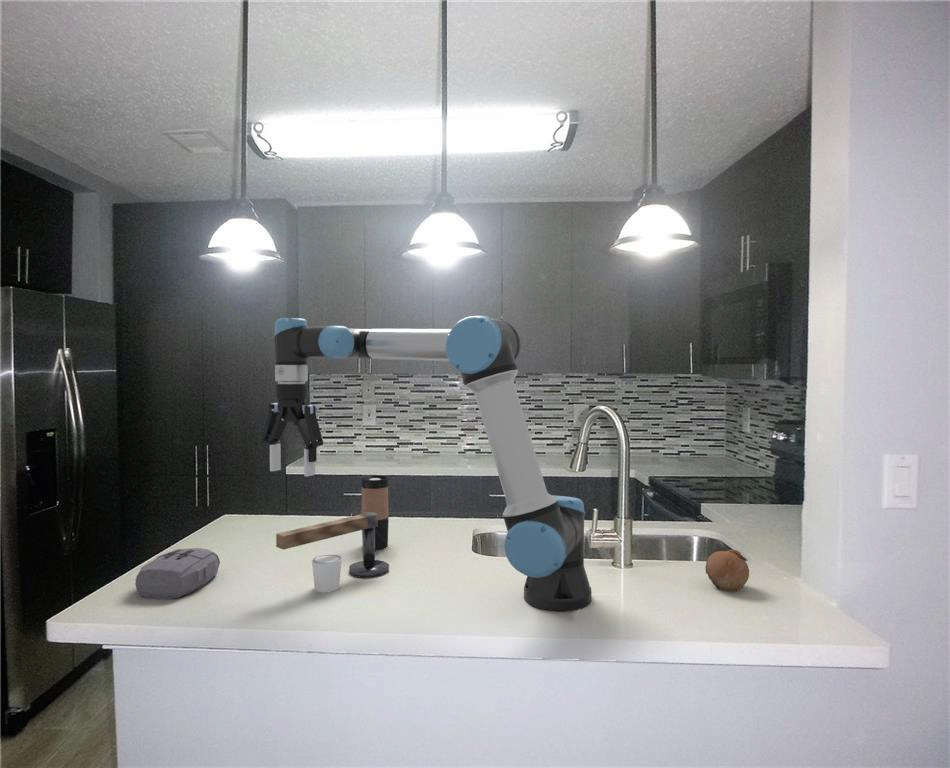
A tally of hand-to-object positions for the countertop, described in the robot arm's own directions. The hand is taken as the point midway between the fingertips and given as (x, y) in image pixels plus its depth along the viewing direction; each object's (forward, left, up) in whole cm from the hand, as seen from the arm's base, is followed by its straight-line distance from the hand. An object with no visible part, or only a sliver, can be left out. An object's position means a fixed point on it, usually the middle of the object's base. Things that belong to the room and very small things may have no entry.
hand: (292, 473), depth 149 cm
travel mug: (+7, -31, -27) cm, 41 cm away
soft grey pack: (+18, +19, -27) cm, 38 cm away
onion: (-80, -66, -27) cm, 107 cm away
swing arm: (-8, -5, -15) cm, 18 cm away
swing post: (-8, -17, -26) cm, 32 cm away
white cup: (-10, -3, -27) cm, 29 cm away
